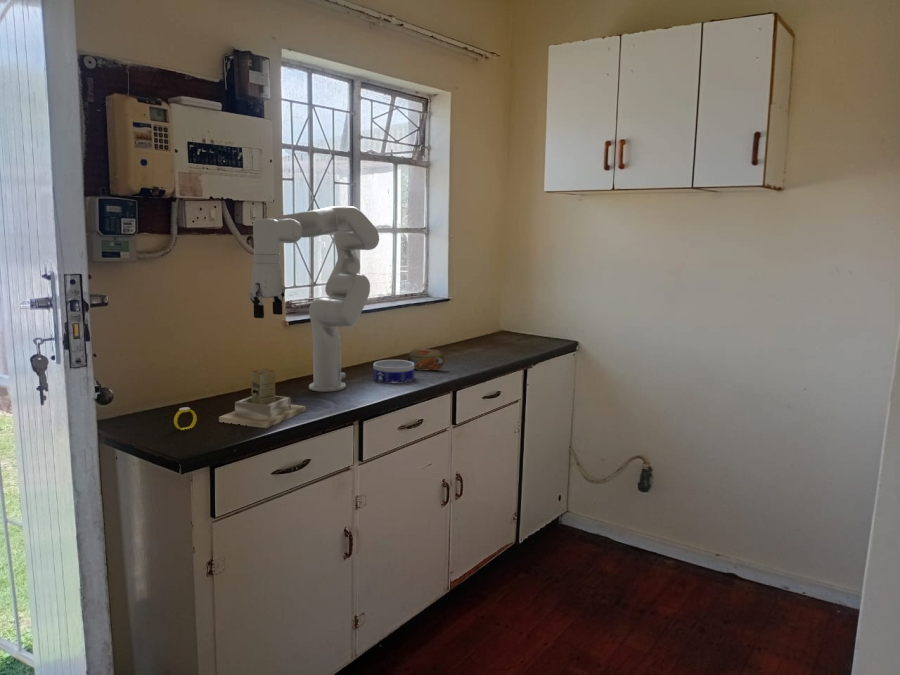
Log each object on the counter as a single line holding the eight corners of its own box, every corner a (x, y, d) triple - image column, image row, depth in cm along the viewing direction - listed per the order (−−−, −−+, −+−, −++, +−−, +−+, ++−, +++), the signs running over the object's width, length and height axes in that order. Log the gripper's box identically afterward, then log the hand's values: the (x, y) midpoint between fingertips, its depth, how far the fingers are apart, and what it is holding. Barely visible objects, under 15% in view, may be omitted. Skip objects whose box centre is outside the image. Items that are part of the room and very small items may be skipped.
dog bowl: (422, 378, 257) (422, 362, 256) (397, 385, 244) (397, 369, 243) (390, 373, 265) (391, 358, 264) (364, 380, 253) (364, 364, 252)
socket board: (260, 405, 214) (260, 389, 213) (305, 410, 208) (305, 394, 207) (219, 422, 195) (218, 405, 194) (266, 428, 190) (266, 410, 189)
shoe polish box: (267, 408, 205) (266, 368, 203) (275, 411, 202) (274, 371, 200) (252, 410, 202) (251, 371, 200) (260, 414, 198) (259, 373, 196)
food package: (406, 369, 272) (407, 348, 270) (409, 368, 275) (409, 347, 273) (443, 372, 268) (443, 350, 267) (445, 370, 271) (445, 349, 270)
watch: (178, 433, 185) (175, 412, 184) (173, 431, 187) (170, 410, 186) (199, 427, 189) (196, 406, 188) (194, 425, 191) (191, 404, 190)
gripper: (273, 258, 216) (274, 312, 218) (238, 260, 200) (240, 318, 202) (293, 259, 213) (294, 313, 216) (260, 261, 197) (262, 320, 200)
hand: (268, 316), depth 209 cm, fingers open, 9 cm apart
